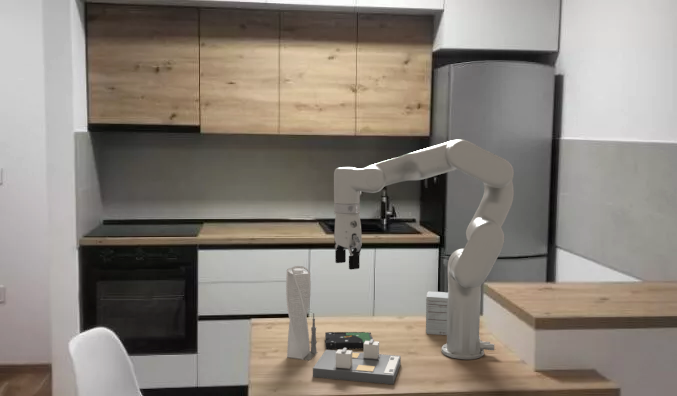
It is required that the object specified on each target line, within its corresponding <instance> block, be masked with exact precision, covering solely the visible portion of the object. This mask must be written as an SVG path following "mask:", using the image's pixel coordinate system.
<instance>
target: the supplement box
mask: <svg viewBox="0 0 677 396" xmlns="http://www.w3.org/2000/svg"><path fill="white" fill-rule="evenodd" d="M425 300H426V303H425V304H426V305H425V306H426V307H425V310H426V311H425V334H426V333H427V335H439V336H447V316H448V291H447V292H444V291H429V290H428V291H427V293H426V299H425Z"/></svg>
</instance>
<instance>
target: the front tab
mask: <svg viewBox="0 0 677 396" xmlns="http://www.w3.org/2000/svg"><path fill="white" fill-rule="evenodd" d="M336 351H337V352H336V367H337V368H348V369H350V368H351V366H352V352H353V350H352V349H347V348H343V349H336Z"/></svg>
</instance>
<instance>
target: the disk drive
mask: <svg viewBox="0 0 677 396" xmlns="http://www.w3.org/2000/svg"><path fill="white" fill-rule="evenodd" d="M324 335H325V337H324V339H325V350H338V349H339V350H343V348H347V350H363V349H364V342H365V341H370V340H371V339H374V338H373V335H372V332H370V331H369V332H366V331H328V332H326V331H325V333H324Z"/></svg>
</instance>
